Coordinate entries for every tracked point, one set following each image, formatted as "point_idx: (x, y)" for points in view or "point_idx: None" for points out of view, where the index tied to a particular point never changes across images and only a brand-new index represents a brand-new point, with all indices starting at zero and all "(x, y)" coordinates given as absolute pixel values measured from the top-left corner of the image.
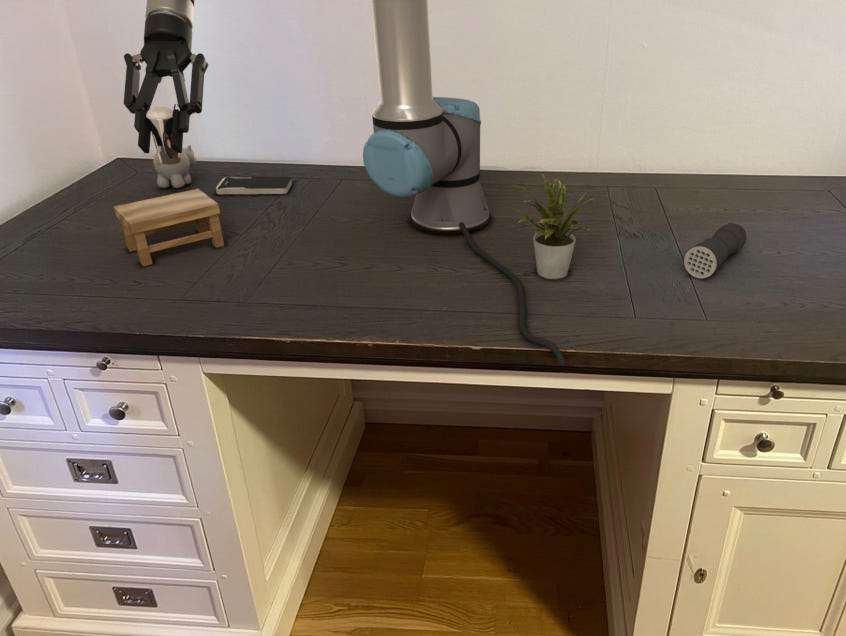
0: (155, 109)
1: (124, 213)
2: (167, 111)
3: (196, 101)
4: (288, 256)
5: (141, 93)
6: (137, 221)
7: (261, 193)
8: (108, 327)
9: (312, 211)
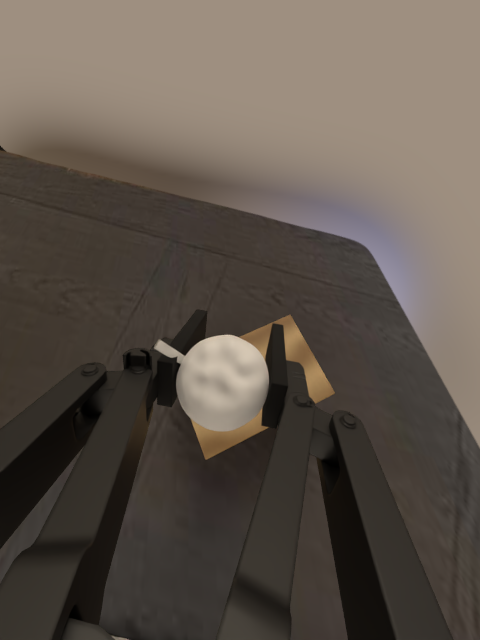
0: (234, 370)
1: (308, 356)
2: (195, 360)
3: (75, 370)
4: (117, 328)
5: (296, 448)
6: (281, 320)
7: (112, 635)
8: (282, 225)
9: (46, 494)
